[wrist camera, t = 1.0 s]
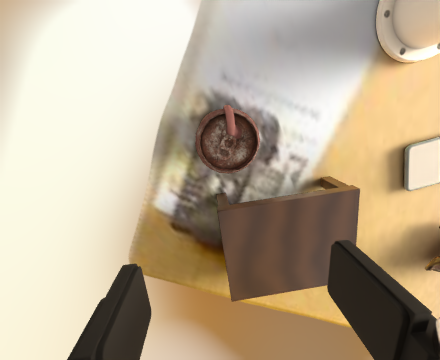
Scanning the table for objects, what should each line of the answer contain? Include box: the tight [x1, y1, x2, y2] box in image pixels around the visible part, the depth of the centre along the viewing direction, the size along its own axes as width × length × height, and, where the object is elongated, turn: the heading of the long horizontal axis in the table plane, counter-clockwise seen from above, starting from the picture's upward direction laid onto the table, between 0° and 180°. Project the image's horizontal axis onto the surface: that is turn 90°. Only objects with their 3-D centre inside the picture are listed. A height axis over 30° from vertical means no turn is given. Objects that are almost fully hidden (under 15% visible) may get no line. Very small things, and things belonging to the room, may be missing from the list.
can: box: [195, 105, 260, 173], centre depth 25 cm, size 6×6×14 cm
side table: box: [216, 176, 360, 301], centre depth 34 cm, size 20×16×7 cm
